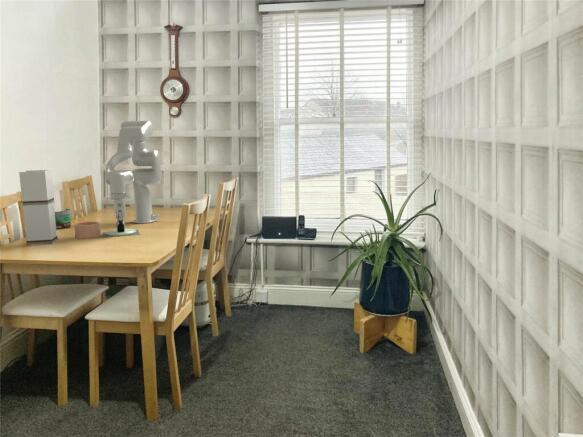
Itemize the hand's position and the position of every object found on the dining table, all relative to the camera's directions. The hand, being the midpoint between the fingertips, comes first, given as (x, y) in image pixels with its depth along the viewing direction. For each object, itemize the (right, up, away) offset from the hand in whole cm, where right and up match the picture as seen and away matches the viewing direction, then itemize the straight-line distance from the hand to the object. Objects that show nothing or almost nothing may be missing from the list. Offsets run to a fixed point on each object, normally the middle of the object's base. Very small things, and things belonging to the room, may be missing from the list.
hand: (121, 230), depth 275 cm
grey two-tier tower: (-34, -5, -15) cm, 37 cm away
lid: (0, -1, 0) cm, 1 cm away
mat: (0, -2, 0) cm, 2 cm away
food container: (-39, +1, +25) cm, 46 cm away
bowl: (-15, -3, -4) cm, 16 cm away
